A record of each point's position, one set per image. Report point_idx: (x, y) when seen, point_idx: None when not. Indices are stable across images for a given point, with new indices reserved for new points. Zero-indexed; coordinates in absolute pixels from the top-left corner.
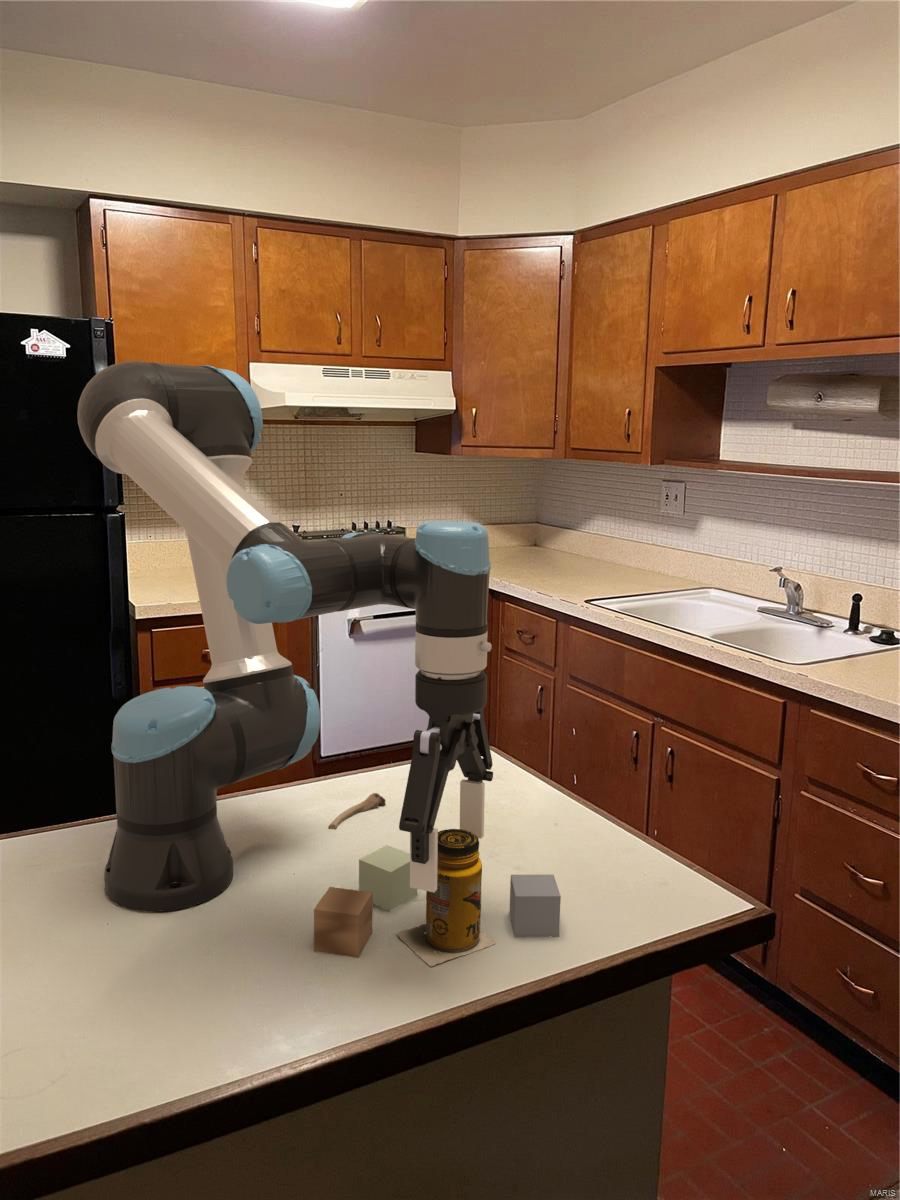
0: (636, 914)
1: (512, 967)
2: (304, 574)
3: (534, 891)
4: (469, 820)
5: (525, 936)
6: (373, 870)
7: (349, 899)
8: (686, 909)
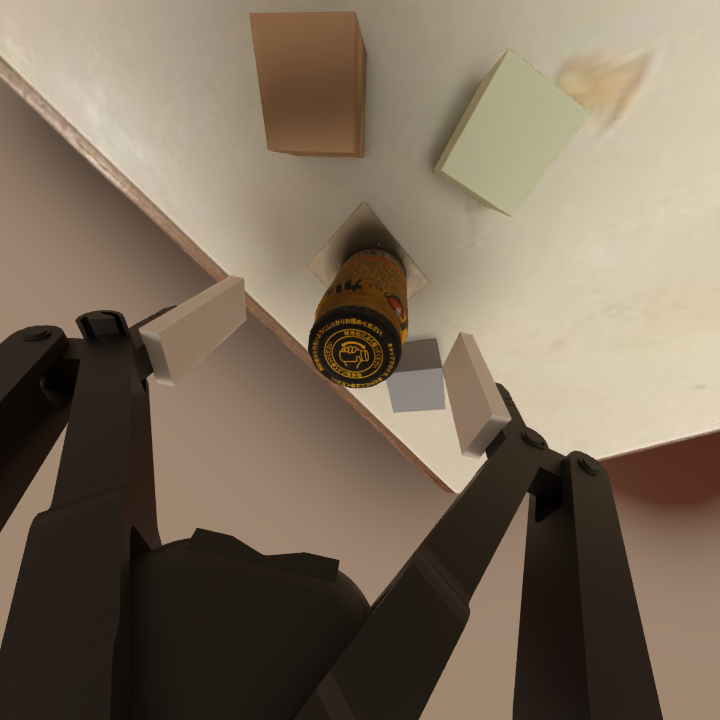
0: (441, 435)
1: None
2: None
3: (399, 391)
4: (457, 367)
5: None
6: (471, 113)
7: (314, 103)
8: (451, 463)
